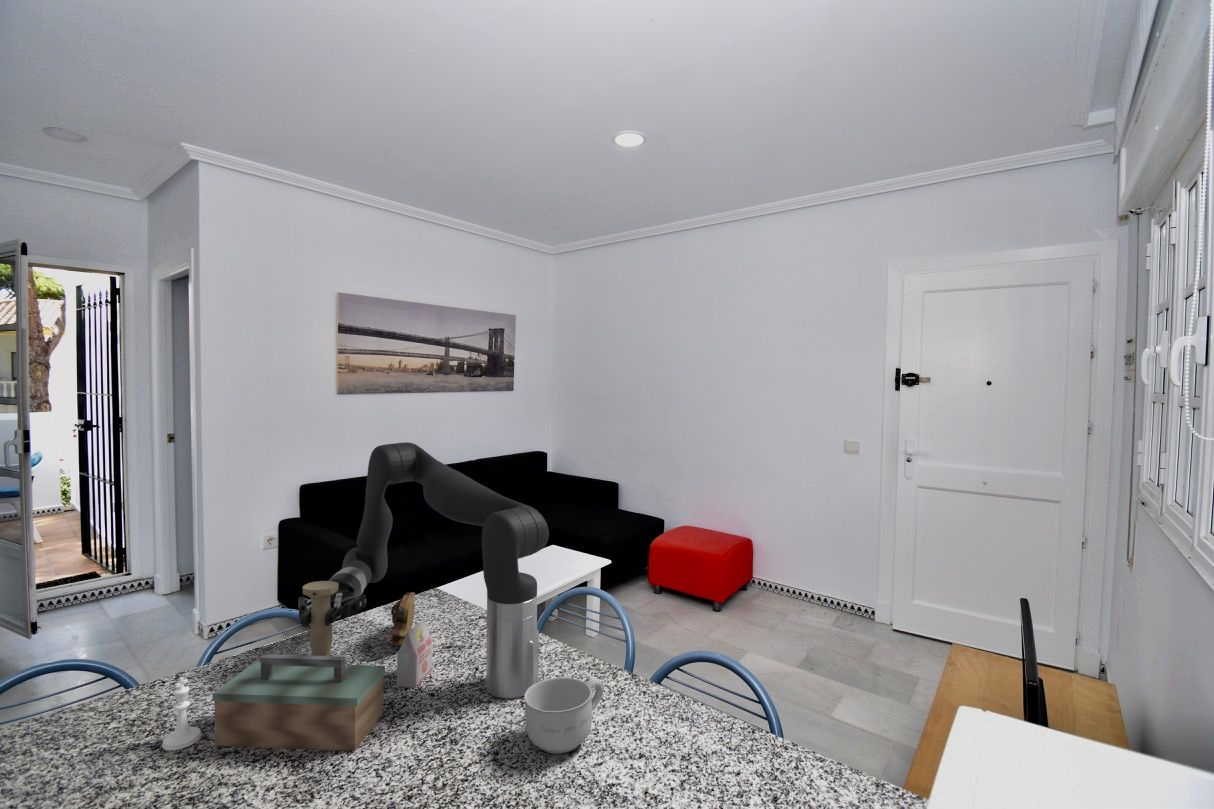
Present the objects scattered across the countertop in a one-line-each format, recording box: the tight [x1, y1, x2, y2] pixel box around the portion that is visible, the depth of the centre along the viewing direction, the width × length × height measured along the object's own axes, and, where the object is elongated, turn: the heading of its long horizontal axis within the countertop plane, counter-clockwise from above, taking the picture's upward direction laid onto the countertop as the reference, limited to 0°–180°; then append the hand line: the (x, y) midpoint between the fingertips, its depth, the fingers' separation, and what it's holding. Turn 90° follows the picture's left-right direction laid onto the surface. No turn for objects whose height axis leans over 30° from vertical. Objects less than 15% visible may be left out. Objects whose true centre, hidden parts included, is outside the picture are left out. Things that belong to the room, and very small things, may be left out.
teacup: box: [523, 676, 604, 755], centre depth 90 cm, size 14×11×8 cm
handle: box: [302, 580, 339, 656], centre depth 112 cm, size 5×6×15 cm
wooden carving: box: [390, 592, 416, 646], centre depth 124 cm, size 16×5×10 cm, turn 16°
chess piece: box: [161, 676, 202, 751], centre depth 88 cm, size 5×5×10 cm
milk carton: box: [396, 618, 434, 689], centre depth 108 cm, size 4×7×10 cm, turn 171°
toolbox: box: [212, 653, 386, 752], centre depth 96 cm, size 23×18×12 cm
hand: (315, 621), depth 109 cm, fingers closed on handle, 3 cm apart
